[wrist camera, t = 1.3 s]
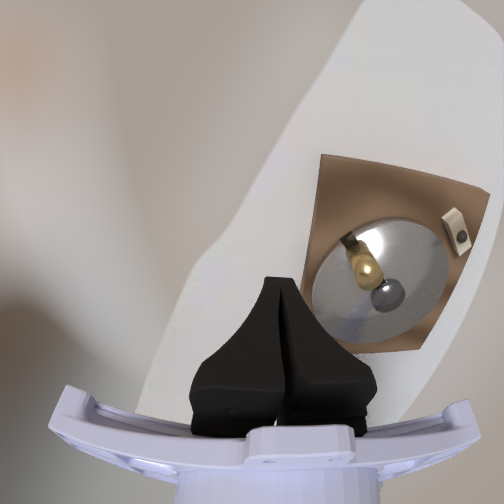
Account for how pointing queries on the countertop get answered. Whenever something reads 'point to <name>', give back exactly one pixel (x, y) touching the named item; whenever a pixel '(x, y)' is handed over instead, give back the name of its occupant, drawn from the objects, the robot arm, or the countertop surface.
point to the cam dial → (379, 280)
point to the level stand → (390, 205)
